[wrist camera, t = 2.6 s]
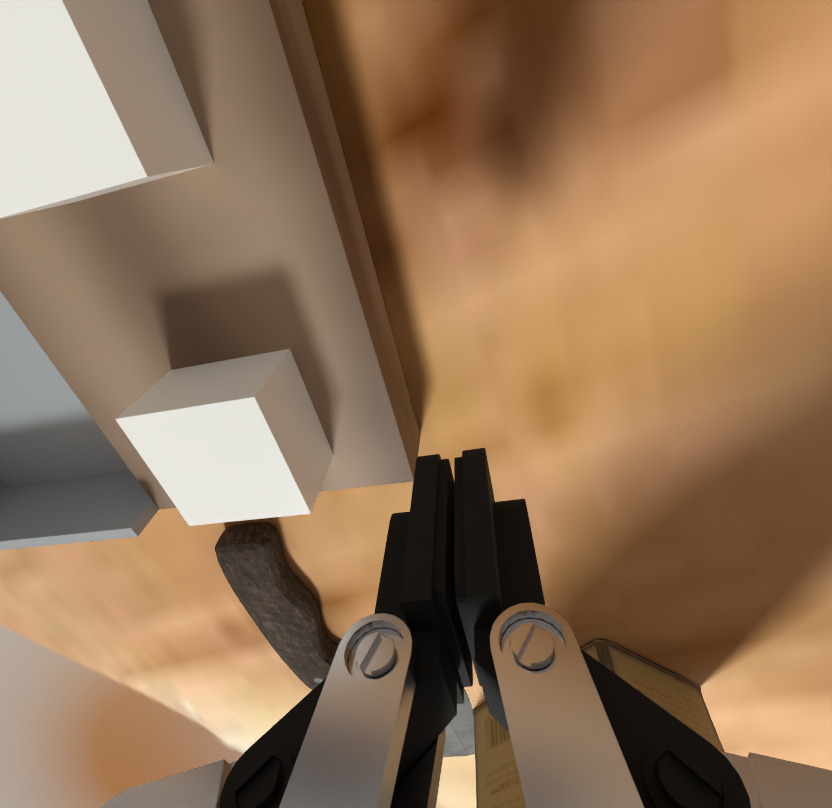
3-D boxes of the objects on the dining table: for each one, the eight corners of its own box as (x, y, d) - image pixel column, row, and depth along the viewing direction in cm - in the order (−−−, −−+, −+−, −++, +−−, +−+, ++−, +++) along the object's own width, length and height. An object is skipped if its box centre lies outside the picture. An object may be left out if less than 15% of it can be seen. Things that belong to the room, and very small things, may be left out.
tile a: (289, 348, 15) (254, 397, 12) (333, 454, 17) (310, 513, 15) (171, 370, 16) (115, 419, 13) (227, 468, 18) (189, 525, 15)
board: (256, -167, 11) (192, -251, 8) (420, 434, 20) (414, 481, 17) (-105, -12, 13) (-241, -42, 10) (193, 464, 22) (158, 509, 20)
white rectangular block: (118, -69, 10) (-3, -133, 7) (214, 163, 12) (147, 176, 9) (-44, -3, 10) (-203, -39, 8) (74, 202, 13) (-21, 223, 10)
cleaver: (190, 529, 25) (170, 561, 24) (342, 492, 23) (332, 524, 21) (395, 748, 40) (391, 778, 38) (503, 741, 37) (505, 772, 35)
